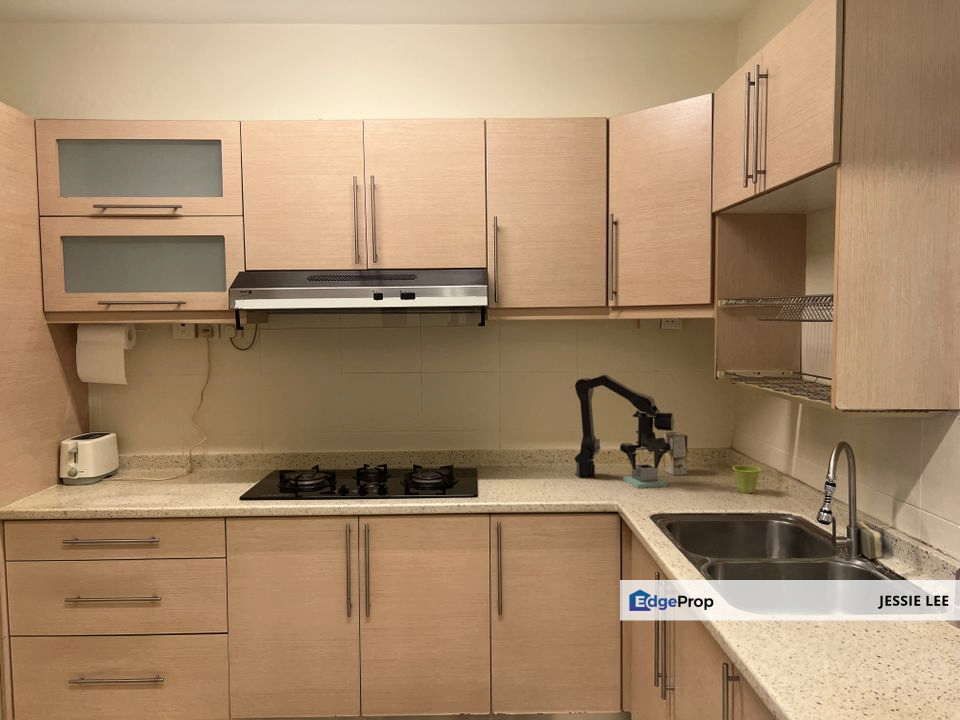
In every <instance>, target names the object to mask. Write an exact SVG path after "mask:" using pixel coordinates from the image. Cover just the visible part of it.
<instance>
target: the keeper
mask: <svg viewBox="0 0 960 720" xmlns="http://www.w3.org/2000/svg"><path fill="white" fill-rule="evenodd" d="M623 481H624V482H625V483H628V484H629V483H630V484H629V485H631V484H632V485H631V486H633V487H635V488H636V489H646V487H648V488H660V487H667V486H668V482H667V481H665V480H663V479H662V478H659V477H658V481H650V482H639V481H638V480H636V479H634V478H632V475H630V476H629V475H625V476H623Z"/></svg>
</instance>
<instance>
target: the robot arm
mask: <svg viewBox="0 0 960 720" xmlns="http://www.w3.org/2000/svg"><path fill="white" fill-rule="evenodd" d="M601 386H604V387H605V388H607V389H608V390H610V391H612V392H613V393H615V394H617V395H619V396H621V397H622V398H623V399H625V400H627V401H628V402H629V403H630V404H632V406H633V407H634V408H636V411H635V413H634V414H633V415H632V418H637V430H636V431H635V433H636V434H637V440H636V441H635V444H634V443H631V442H624V443H621V444H620V446H619V451H621V452H622V453H623V454H626V456H627V458H628V460H629V462H630V465H631V468H633V470H635V468H636V465H637V463H636V460H637V459H636V456H637V455H638V453H636V452H637V450H638V451H641V450H647V451H648V452H650V453H653V464H654V465H653V466H654V467H656V468H658V467H659V465H660V462H661V460H662V457H664V454H665V453H667V452H668V451H670V450H671V445H670V444H669V443H668V442H665V439H664V437H656V432H654V428H655V429H656V430H657V431H667V432H674V428H675V420H674V419H675V418H674V413H673V412H661V411H660V410H659V408H658V407H657V405H656V402H655V399H654V397H652V396H651V395H647V394H645V393H643V392H642V393H641V392H638V391H635V390H633V389H631V388H630V387H628V386H626V385H624V383H621V382H619V381H618V380H616V379H614V378H612V377H611V376H610V375H608V374H602V375H600V376H597V377H593V378H589V377H583V378H580V379H578V380H577V381H576V382H575V385H574V388H575V391H576V396H577V397H578V399H579V403H580V417H581V428H582V439H581V443H580V452H579V453H578V454H577V455H576V456H574V461H575V463H576V472H574V475H575V476H576V477H578V478H580V479H586V478H587V479H588V478H596V466H595V465H596V464H595V462H594V459H595V457H596V456H597V455H598V454H599V453H600V450H601V446H600V442H601V440H600V438H597V437H596V435H595V427H594V418H593V417H594V416H593V404H592V400H593V395H594V390H595V389H594V388H597V387H601Z"/></svg>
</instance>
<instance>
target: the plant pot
mask: <svg viewBox="0 0 960 720" xmlns="http://www.w3.org/2000/svg"><path fill="white" fill-rule="evenodd" d="M732 469H733V472H734V476H735V485H736V490H737V492H739V493H742V494H748V495H749V494H755V493H756V490H757V483H758V478H759V475H760V472H761V471H762V469H761V468H760V467H757V466H753V465H746V464H745V465H743V464H740V465H734V466H732Z"/></svg>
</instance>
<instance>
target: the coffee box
mask: <svg viewBox="0 0 960 720" xmlns="http://www.w3.org/2000/svg"><path fill="white" fill-rule="evenodd" d="M663 438H664V439H665V442H668V443H669V444H670V445H671V450H670V451H668V452H667V453H665V454H664V455H663V471H665V472H666V473H669V474H670V475H672V476H682V475H683V476H684V475H688V435H686V434H683V433H680V432H678V431H667V432H663Z"/></svg>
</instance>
